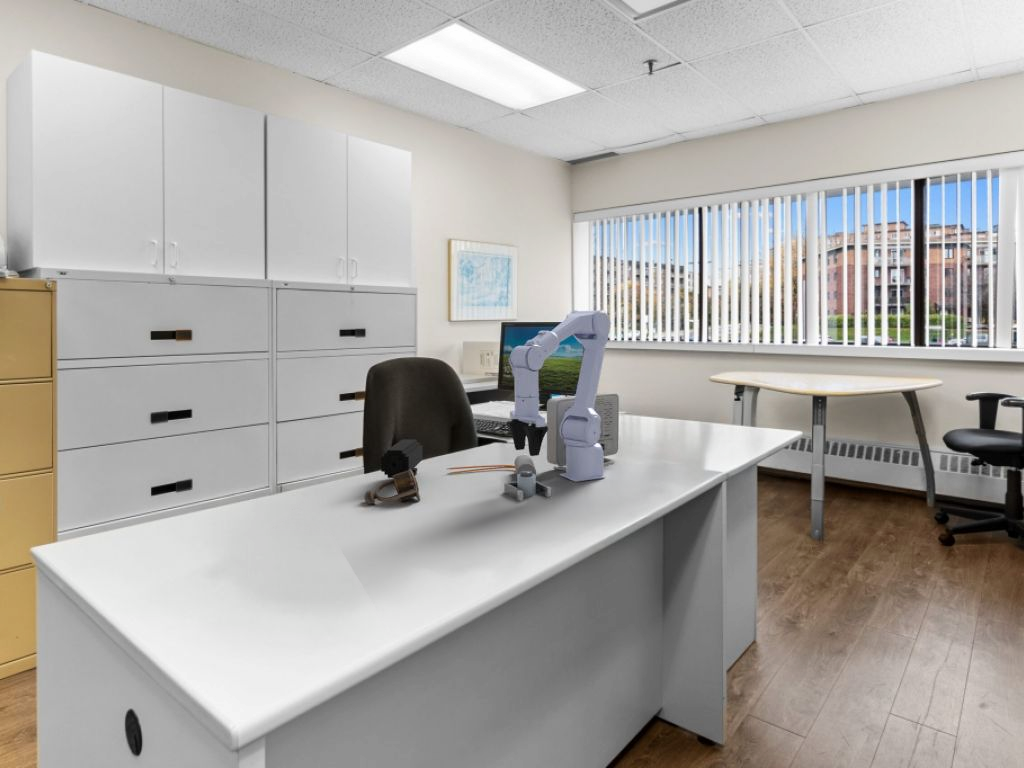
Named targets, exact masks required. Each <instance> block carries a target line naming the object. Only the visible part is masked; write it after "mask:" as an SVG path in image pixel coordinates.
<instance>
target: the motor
mask: <svg viewBox="0 0 1024 768" xmlns="http://www.w3.org/2000/svg"><path fill="white" fill-rule="evenodd" d="M460 469H461V470H460ZM463 469H465V470H463ZM499 469H514V470H515V473H516V476H517V475H518V474H520V472H521V471H532V472H533V474H535V475H536V476H537V470H536V467H535V464H534V460H533V459H532V456H530V454H529V455H528V454H526V453H521V454H519V455H517V456H516V458H514V465H513V464H512V465H510V464H509V465H508V464H496V465H495V464H493V465H491V464H490V465H473V466H470V465H469V466H458V467H456V466H455V467H448V468H446V470H457V471H450V472H447V475H450V474H451V475H453V474H459V473H460V474H461V473H469V472H478V471H486V470H499Z"/></svg>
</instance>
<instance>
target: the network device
mask: <svg viewBox="0 0 1024 768" xmlns="http://www.w3.org/2000/svg"><path fill="white" fill-rule="evenodd" d="M575 396H576V395H573V396H570V395H569V396H562V397H553V398H549V399H548V400H547V402H546V426H548V430H547V432H546V460H547V462H548V464H551V465H554V469H555V470H558V471H563V472H566V444H565V443H564V440H563V439H562V438H561V436H560V425H561V422H562V421H563V419H564V415H565V412H566V411H567V410H569V409H570V408H571V407H573V406H574V401H575ZM619 406H620V396H619V395H618V394H617V393H613V392H601V393H600V392H597V394H596V400H595V405H594V411H595V412H596V413H597V414H598V415H599V416H600V418H601V422H600V429H601V434H600V438H599V440H598V441H597V443H598V444H600V445H601V447H602V449H603V454H604V465H606V466H609V465H608V464H610V465H613V464H614V461H615V460H614V459H610V458H607V457H609V456H613V455H617V453H618V452H619V427H620V425H619V422H620V420H619V418H620V416H619V415H620V413H619V411H620V407H619ZM579 419H582V420H588V419H583V418H579ZM606 461H607V462H606ZM612 463H613V464H612ZM604 465H603V467H604Z"/></svg>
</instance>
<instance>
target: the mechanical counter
mask: <svg viewBox="0 0 1024 768" xmlns="http://www.w3.org/2000/svg"><path fill="white" fill-rule="evenodd" d="M392 477H393V478H392V479H391V480H389V481H386V482H383V483H382V484H381V485H379V486H378V487H377V488H376V489H375V491H374V492H372V491H371V490H367V491H366V492H365V493H364V501H365V502H366V503H367V504H368V505H371V506H372V505H375V500H377V501H380V502H391V501H392V502H393V501H396V500H398V499H399V501H400V502H403V501H404V502H405V501H407V500H410V499H413V498H416V499H417V501H418V502H420V501H421V497H420V493H419V485H418V482H417V478H416V475H415V476H414V473H413V471H411V470H407V471H404V472H402V473H399V474H396V475H393V476H392ZM391 485H394V486H395V489H396V494H395V495H393V496H392V495H391V496H388V497H382V496H379V493H380V491H381V490H383V489H385V487H388V486H391Z"/></svg>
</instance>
